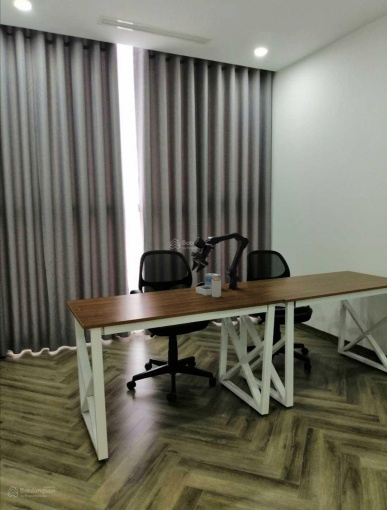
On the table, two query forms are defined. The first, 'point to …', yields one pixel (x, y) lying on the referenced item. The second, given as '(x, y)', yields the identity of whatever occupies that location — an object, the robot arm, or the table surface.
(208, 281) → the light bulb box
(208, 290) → the housing
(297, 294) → the table surface
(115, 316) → the table surface
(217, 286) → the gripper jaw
